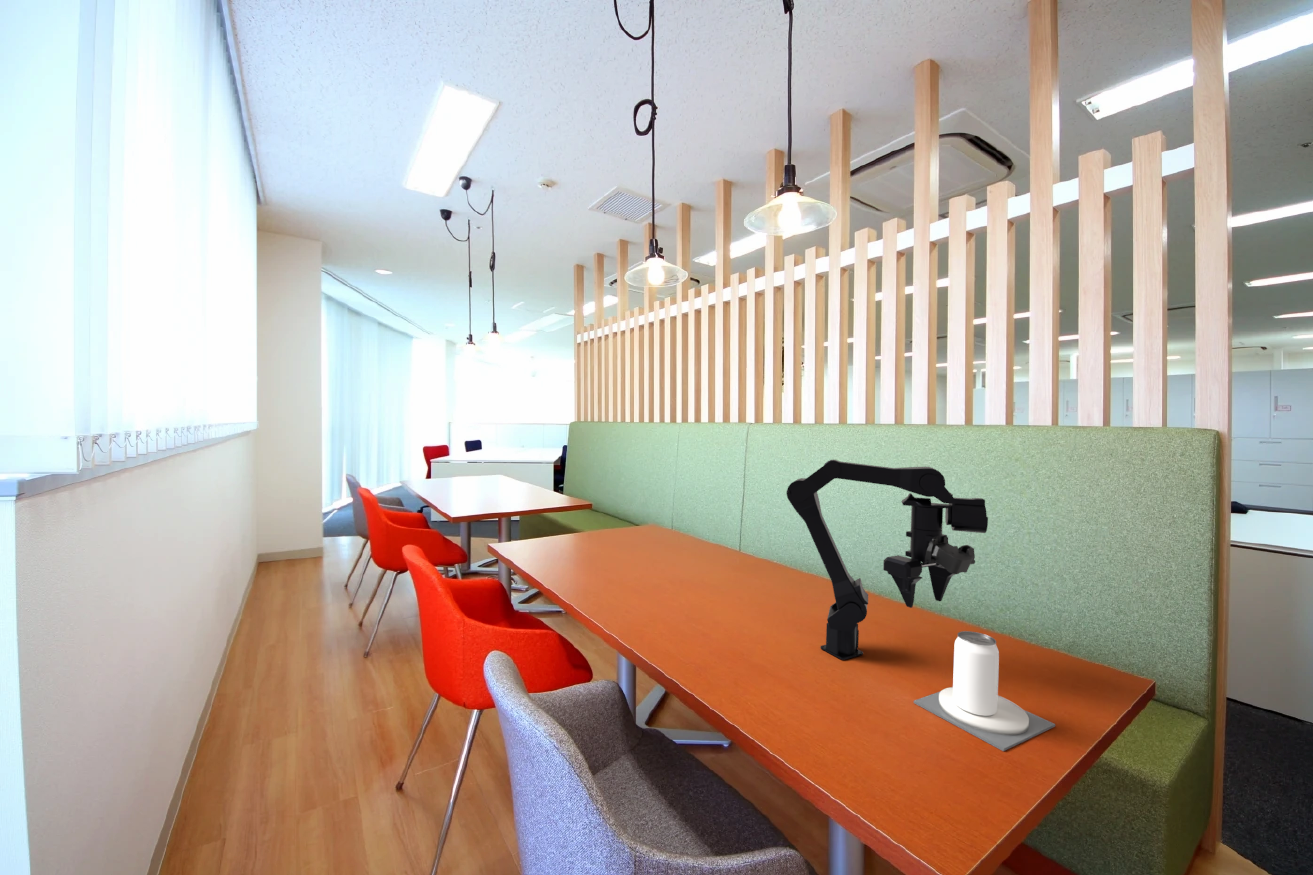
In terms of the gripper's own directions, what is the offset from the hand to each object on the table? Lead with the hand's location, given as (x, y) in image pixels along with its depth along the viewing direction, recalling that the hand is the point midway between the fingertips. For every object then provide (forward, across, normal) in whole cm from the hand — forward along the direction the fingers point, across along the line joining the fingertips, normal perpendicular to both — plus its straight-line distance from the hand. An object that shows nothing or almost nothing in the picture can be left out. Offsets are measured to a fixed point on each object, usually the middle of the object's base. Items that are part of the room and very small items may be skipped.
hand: (924, 603), depth 104 cm
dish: (+13, -7, -16) cm, 22 cm away
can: (+12, -8, -16) cm, 21 cm away
